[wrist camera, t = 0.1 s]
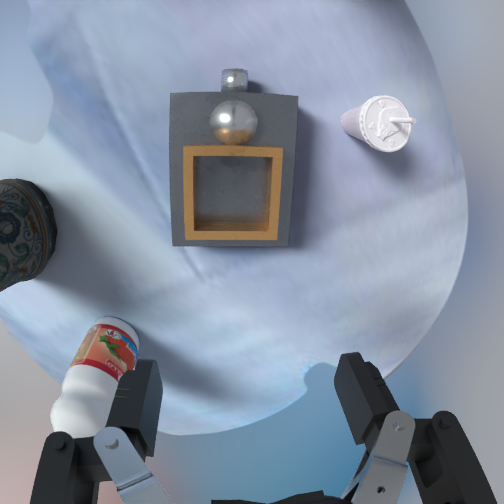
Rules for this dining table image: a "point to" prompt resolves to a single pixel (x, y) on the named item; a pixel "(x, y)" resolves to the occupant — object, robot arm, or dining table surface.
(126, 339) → the fruit juice
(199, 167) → the grey flat boxy piece
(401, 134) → the smoothie
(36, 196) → the beer stein
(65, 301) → the dining table surface
